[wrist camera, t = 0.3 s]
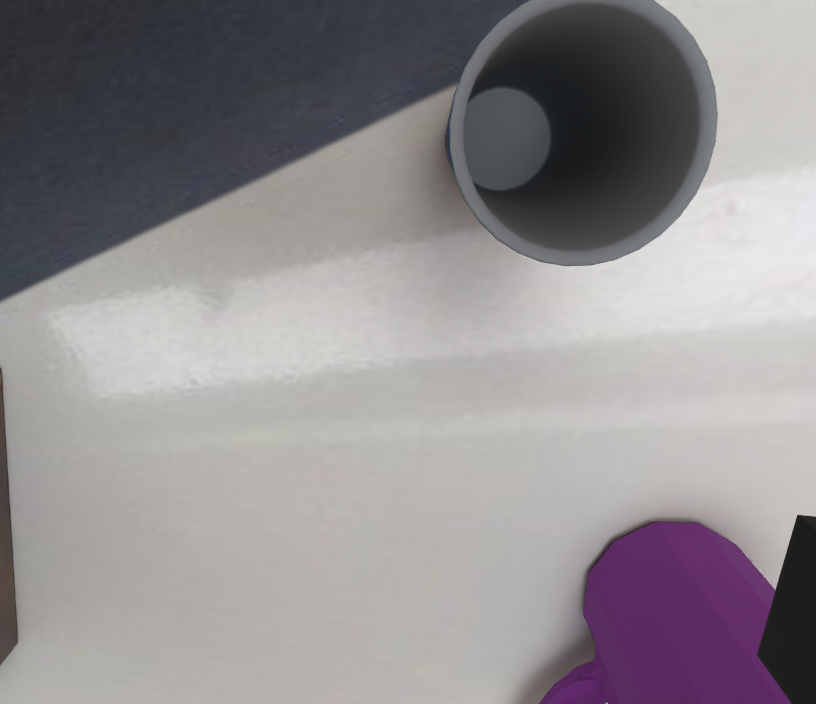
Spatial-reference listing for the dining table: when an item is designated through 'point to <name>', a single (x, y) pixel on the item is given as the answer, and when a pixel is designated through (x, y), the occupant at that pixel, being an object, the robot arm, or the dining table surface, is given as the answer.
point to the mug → (673, 623)
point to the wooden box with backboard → (5, 555)
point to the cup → (582, 128)
